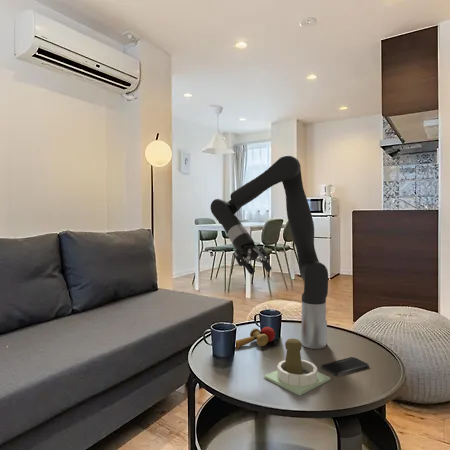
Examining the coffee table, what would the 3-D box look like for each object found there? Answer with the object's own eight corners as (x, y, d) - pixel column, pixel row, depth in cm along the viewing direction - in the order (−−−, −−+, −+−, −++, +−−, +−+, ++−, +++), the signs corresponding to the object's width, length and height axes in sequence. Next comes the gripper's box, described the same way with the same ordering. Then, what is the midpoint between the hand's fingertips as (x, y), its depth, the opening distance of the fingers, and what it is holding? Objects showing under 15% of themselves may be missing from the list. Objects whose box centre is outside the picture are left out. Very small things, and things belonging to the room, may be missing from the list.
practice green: (295, 364, 122) (295, 353, 121) (330, 379, 111) (330, 367, 111) (264, 378, 112) (264, 366, 112) (299, 395, 101) (299, 382, 101)
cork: (305, 377, 110) (305, 343, 110) (286, 378, 110) (286, 343, 109) (299, 369, 116) (299, 336, 116) (281, 369, 116) (281, 336, 115)
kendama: (242, 355, 133) (280, 340, 141) (238, 339, 133) (277, 325, 141) (232, 352, 140) (270, 338, 148) (229, 336, 140) (266, 323, 148)
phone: (370, 365, 119) (336, 374, 113) (370, 368, 119) (336, 377, 113) (352, 356, 126) (319, 364, 120) (352, 359, 126) (319, 367, 120)
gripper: (231, 233, 131) (252, 267, 123) (258, 231, 140) (280, 263, 132) (222, 246, 135) (242, 280, 127) (249, 243, 144) (269, 275, 136)
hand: (261, 271), depth 129 cm, fingers open, 8 cm apart
